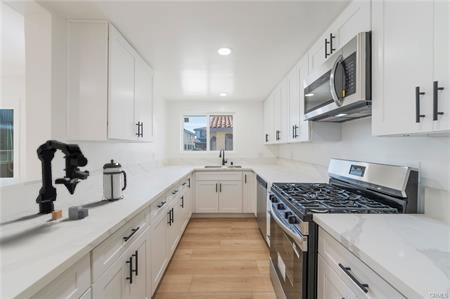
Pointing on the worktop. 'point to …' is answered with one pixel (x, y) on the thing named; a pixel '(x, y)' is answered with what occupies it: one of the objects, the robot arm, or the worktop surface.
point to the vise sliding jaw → (56, 214)
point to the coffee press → (113, 180)
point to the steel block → (73, 211)
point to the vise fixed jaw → (82, 213)
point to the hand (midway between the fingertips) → (72, 194)
